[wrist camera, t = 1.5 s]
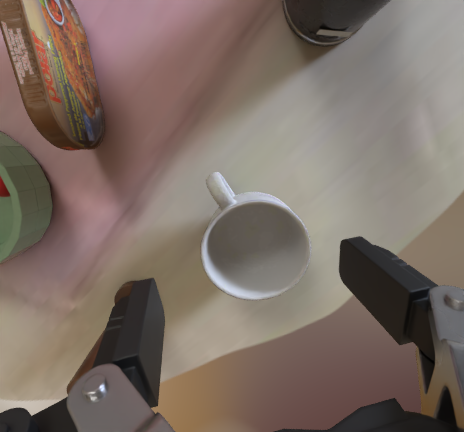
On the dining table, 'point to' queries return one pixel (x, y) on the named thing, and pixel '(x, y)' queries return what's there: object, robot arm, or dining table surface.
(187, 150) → the dining table surface
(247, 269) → the teacup
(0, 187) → the berry
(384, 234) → the dining table surface
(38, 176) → the bowl
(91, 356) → the muddler
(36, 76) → the tin
